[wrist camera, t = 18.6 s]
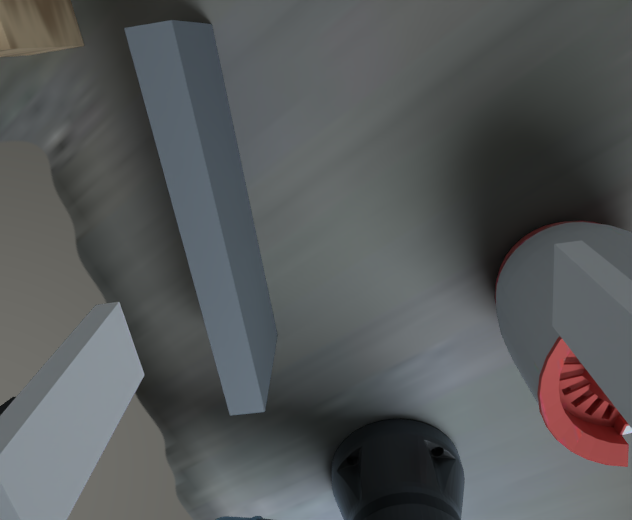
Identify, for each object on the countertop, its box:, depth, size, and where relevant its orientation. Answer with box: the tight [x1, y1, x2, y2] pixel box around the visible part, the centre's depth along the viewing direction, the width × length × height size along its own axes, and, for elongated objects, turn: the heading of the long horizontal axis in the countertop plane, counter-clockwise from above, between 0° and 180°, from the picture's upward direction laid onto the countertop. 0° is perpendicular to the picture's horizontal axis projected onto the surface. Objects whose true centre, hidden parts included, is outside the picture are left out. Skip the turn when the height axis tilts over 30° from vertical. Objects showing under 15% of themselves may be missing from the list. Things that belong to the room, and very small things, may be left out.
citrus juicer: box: [495, 221, 632, 467], centre depth 42 cm, size 16×17×20 cm
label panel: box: [124, 20, 278, 416], centre depth 43 cm, size 30×4×12 cm, turn 9°
